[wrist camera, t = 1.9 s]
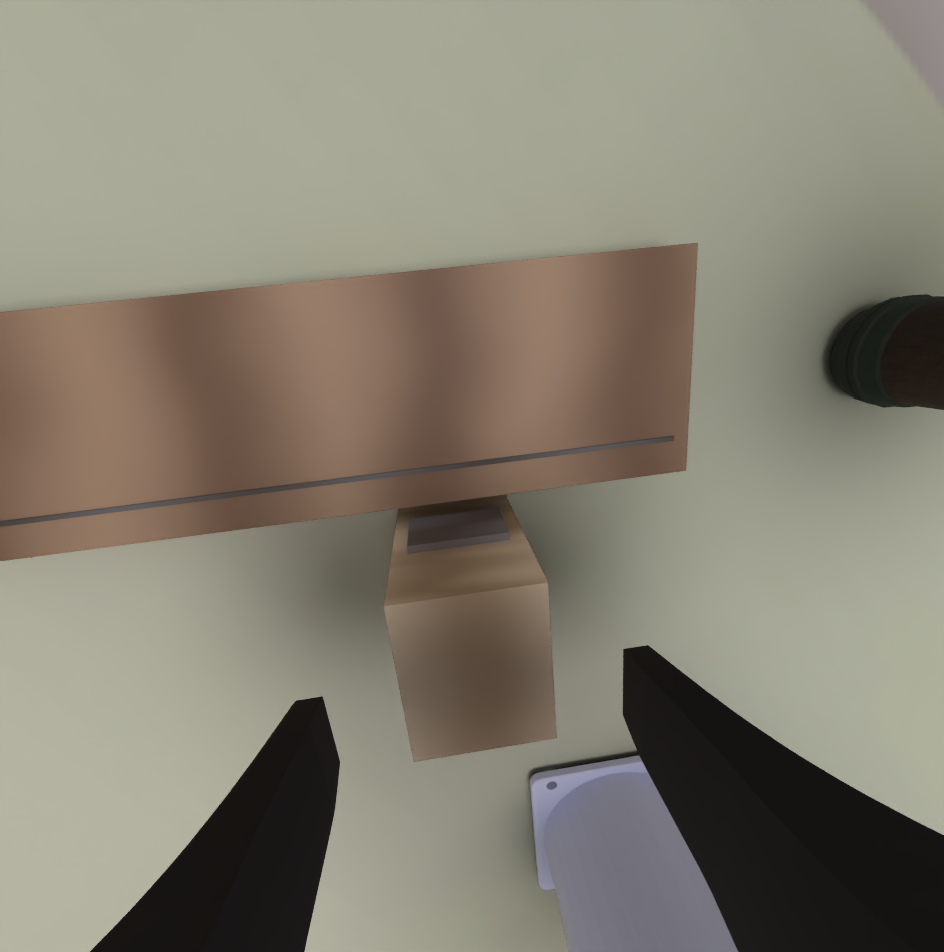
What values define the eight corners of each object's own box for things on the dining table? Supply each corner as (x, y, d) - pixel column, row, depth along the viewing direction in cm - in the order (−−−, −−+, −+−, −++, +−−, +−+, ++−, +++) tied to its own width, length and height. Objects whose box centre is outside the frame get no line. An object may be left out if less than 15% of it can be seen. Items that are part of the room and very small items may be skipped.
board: (663, 254, 15) (699, 242, 13) (657, 455, 17) (687, 470, 15) (-253, 345, 13) (-370, 349, 11) (-127, 556, 15) (-208, 589, 13)
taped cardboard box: (503, 485, 17) (547, 573, 11) (513, 603, 19) (556, 738, 13) (398, 499, 17) (381, 597, 11) (417, 617, 18) (413, 762, 12)
